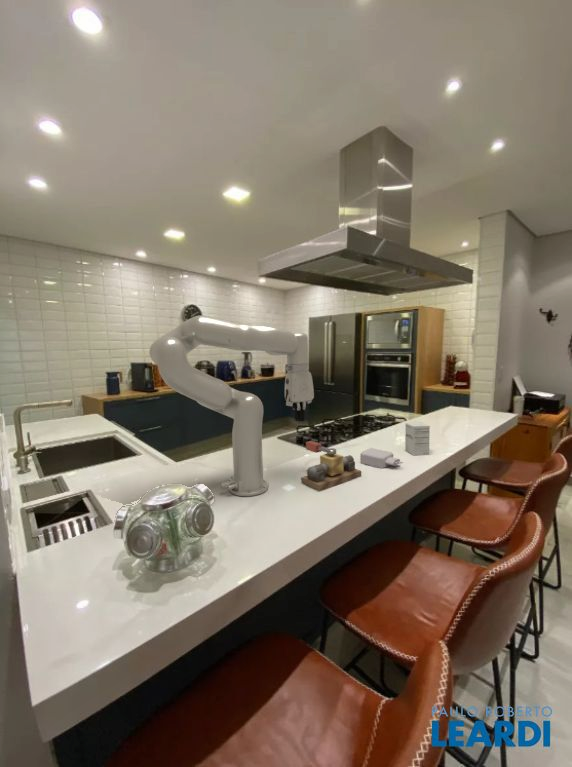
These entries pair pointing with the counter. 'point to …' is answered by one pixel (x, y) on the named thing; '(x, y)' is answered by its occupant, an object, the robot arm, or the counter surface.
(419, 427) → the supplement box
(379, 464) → the charger
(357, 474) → the pipe board
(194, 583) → the counter surface
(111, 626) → the counter surface
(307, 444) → the valve lever
